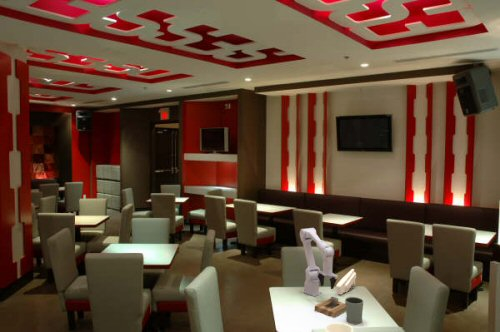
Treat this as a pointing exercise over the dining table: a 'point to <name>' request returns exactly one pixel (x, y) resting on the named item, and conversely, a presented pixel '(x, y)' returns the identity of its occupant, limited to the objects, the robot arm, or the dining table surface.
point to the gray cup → (354, 309)
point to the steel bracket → (333, 302)
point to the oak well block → (330, 312)
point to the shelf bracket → (346, 282)
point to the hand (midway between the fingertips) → (327, 287)
